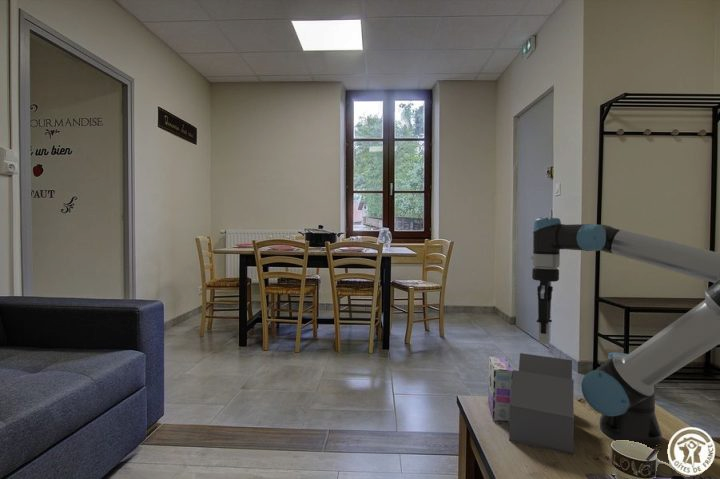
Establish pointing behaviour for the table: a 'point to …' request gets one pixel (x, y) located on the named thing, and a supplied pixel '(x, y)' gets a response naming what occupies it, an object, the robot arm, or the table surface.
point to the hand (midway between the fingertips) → (543, 343)
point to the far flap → (545, 365)
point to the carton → (541, 429)
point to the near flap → (542, 393)
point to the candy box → (499, 388)
